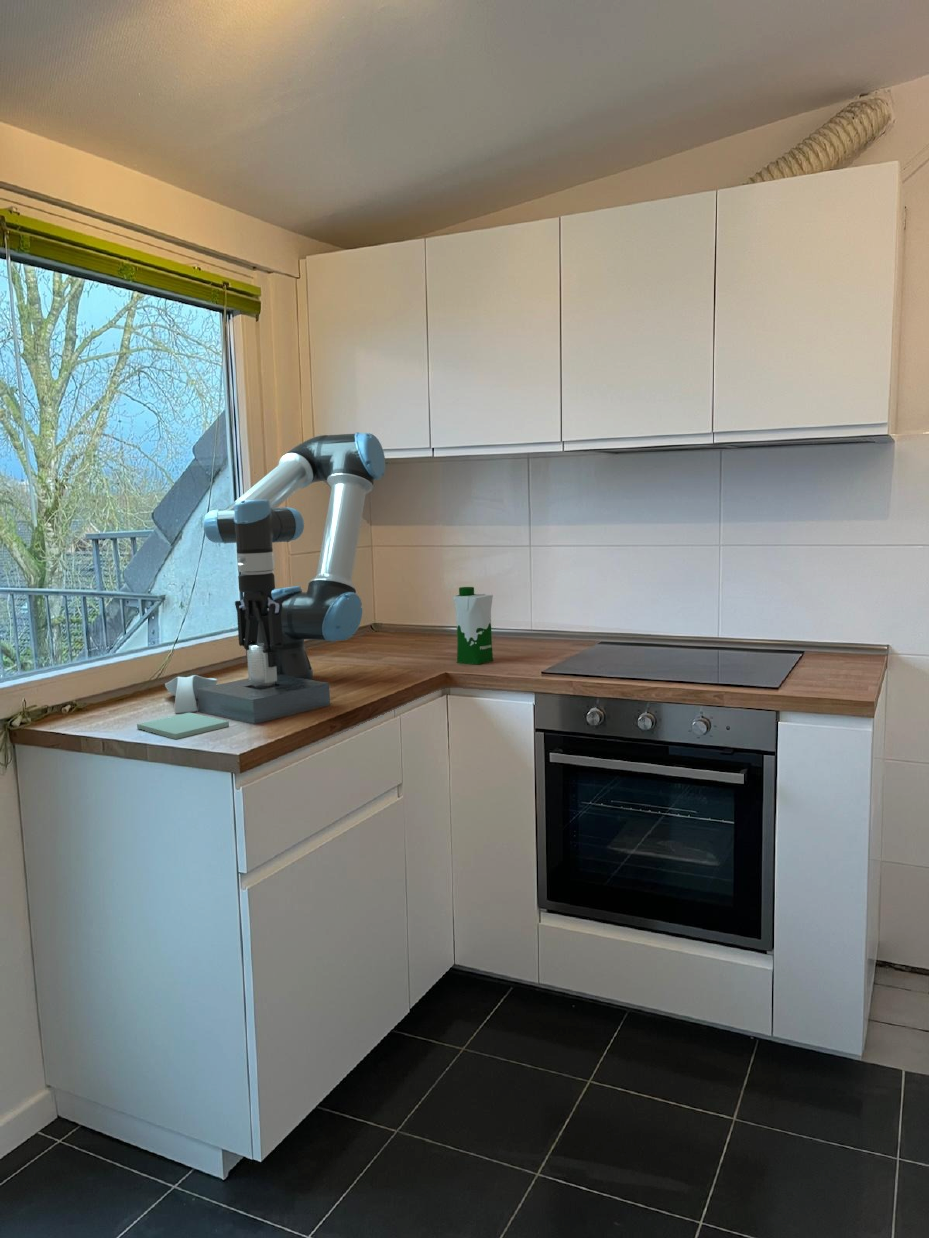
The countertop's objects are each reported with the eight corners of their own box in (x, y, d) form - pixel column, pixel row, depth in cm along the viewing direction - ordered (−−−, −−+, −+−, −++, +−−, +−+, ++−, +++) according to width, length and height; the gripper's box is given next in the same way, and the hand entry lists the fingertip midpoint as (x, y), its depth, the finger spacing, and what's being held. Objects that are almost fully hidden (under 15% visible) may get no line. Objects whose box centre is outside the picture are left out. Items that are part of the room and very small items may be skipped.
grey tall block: (248, 709, 200) (243, 645, 198) (266, 704, 204) (263, 642, 202) (262, 712, 197) (258, 647, 195) (281, 707, 200) (277, 644, 199)
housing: (198, 711, 199) (196, 688, 199) (273, 694, 214) (272, 673, 214) (254, 724, 186) (252, 699, 186) (330, 705, 201) (329, 682, 200)
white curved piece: (168, 694, 220) (166, 664, 219) (219, 690, 223) (217, 661, 222) (158, 716, 197) (156, 683, 196) (215, 711, 200) (213, 679, 199)
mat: (137, 728, 185) (137, 724, 185) (189, 716, 194) (189, 712, 194) (175, 739, 176) (175, 734, 176) (228, 726, 185) (228, 721, 185)
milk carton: (471, 658, 254) (469, 585, 252) (498, 660, 249) (496, 586, 246) (451, 663, 247) (449, 588, 245) (479, 666, 242) (476, 590, 239)
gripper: (216, 573, 199) (223, 678, 202) (267, 575, 188) (274, 687, 191) (245, 570, 205) (252, 673, 208) (297, 572, 193) (303, 681, 196)
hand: (262, 680), depth 199 cm, fingers closed on grey tall block, 5 cm apart
